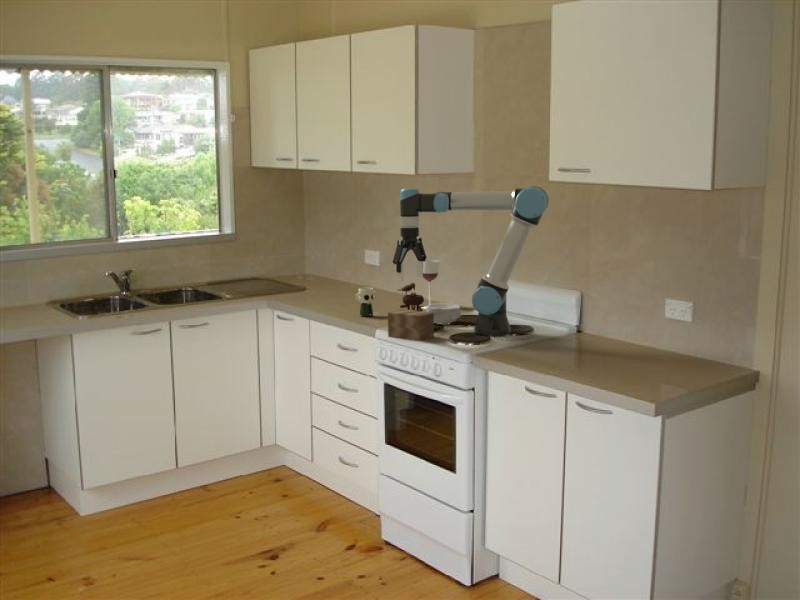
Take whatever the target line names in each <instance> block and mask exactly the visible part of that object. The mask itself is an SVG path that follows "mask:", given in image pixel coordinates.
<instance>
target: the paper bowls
mask: <svg viewBox="0 0 800 600" xmlns="http://www.w3.org/2000/svg"><path fill="white" fill-rule="evenodd" d="M426 306H427V307H426V308H427V309H426V310H425V312H433V313H434V322H436V323H441V324H448V323H451V322H453V321H455V322H456V321H457V319H458V318H459V319H460V318H461V312H462V311H461V305H459V304H455V303H443V302H442V303H441V302H440V303H439V302H438V303H431V304H429V303H428V304H427V305H426ZM448 325H449V324H448Z"/></svg>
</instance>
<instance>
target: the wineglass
mask: <svg viewBox="0 0 800 600" xmlns="http://www.w3.org/2000/svg"><path fill="white" fill-rule="evenodd" d="M439 270H440V260H437V259H426V260H425V261H423V277H422V278H423V279H424V280H426V281H428V305H429V304H432V303H431V294H432V293H431V291H432V289H431V284H432V281H433V280H434V281H435V279H436V278H438V275H439ZM423 306H424V305H423ZM426 307H427V305H426V306H424V307H421V308H422V310H423V309H424V310H427V308H426Z"/></svg>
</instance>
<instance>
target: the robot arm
mask: <svg viewBox="0 0 800 600" xmlns="http://www.w3.org/2000/svg"><path fill="white" fill-rule="evenodd" d="M399 196H400V197H399V207H400V208H399V209H400V210H399V211H400V231H399V233H400V237H401V238H402V239H397V242H396V249H395V251H394V256H393V260H392V263H393V265H395V266H396V271H395V272H396V281H400V282H403V281H404V264H403V262H404V260H405V258H406V256H407V254H408V252H409V251H412V252H413V254H414V256H415V258H416V259H417V260H416V263H415V264H416V266H415V267H416V278H423V261H425V260H427V254H426V251H425V247H424V245H423V238H422V237H420V228H419V226H420V213H438V214H441V213H447V212H448V211H510V214H509V215H510V217H511V220H510V223H509V225H508V227H507V230H506V232H505V234H504V237H503V239H502V240H501V242H500V243H501V244H500V245H499V247H498V250H497V252H496V254H495V256H494V258H493V261H492V263H491V265H490V268H489V270H488V272H487V273H486V274H484V275H482V276H481V278H479V279H478V284H477V287H476V289H475V290H474V291H473V293H472V297H471V298H472V299H471V303H472V306H473V309H474V310H475V311H476V312H478V313H477V314H478V315H477V318H476V321H475V325H474V327H473V332H474V334H476V333H478V334H477V335H479V334H483V335H482V336H486V335H487V337H489V336H490V337H491V336H492V337H495V336H498V337H499V336H505V335H510V334H511V325H510V322H509V320H508V315H507V294H508V291H509V289H510V287H509V283H508V282H509V280H510V277H511V275H512V273H513V271H514V268H515V266H516V264H517V263H518V260H519V257H520V256H521V253H522V251H523V249H524V247H525V244H526V243H527V241H528V237H529V235H530V234H531V232H532V229H533V228H536V227H537V226H538V225H539V223H540V221H541V219H542V216H543V214H544V212H545V211H546V209H547V208H548V207H549V206H548V205H549V201H550V199H549V196H548V194H547V192H546V190H545V189H543V188H542V187H540V186H535V185H534V186H533V185H531V186H528V187H524V188H522V187H521V188H515V189H513V190H512V191H510V190H509V191H508V190H503V191H501V190H498V191H497V190H496V191H452V192H451V191H447V192H446V191H438V192H434V193H420V191H419V189H418V188H402V189H401V190H400V195H399ZM509 333H510V334H509Z"/></svg>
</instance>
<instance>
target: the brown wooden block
mask: <svg viewBox="0 0 800 600" xmlns="http://www.w3.org/2000/svg"><path fill="white" fill-rule="evenodd" d="M434 325H435V324H434V313H433V312H426V311H425V310H423V311H417V310H416V311H414V310H411V309H410V310H408V309H405V308H400V309H397V310H393V311H389V312H387V336H388V337H391V338H397V339H398V338H399V339H406V340H412V339H415V340H414V341H419V340H420V341H423V340H426V339H430V338H433V337H435V335H434V334H435V333H434V332H435V331H434V330H435V329H434V327H435V326H434Z"/></svg>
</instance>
